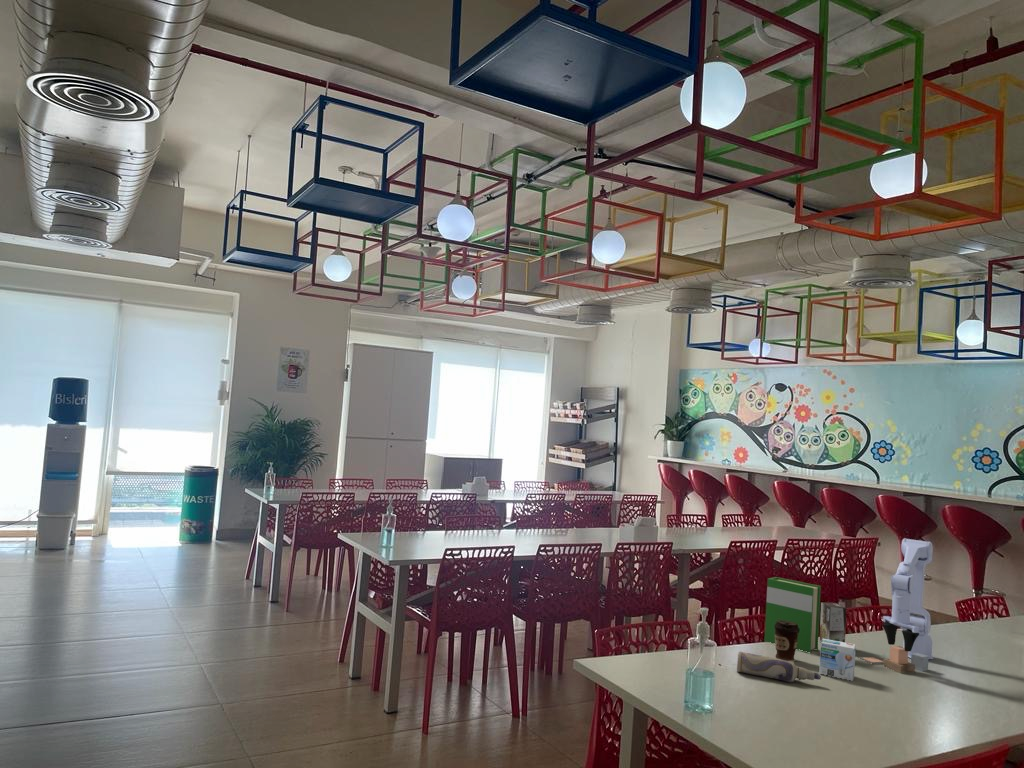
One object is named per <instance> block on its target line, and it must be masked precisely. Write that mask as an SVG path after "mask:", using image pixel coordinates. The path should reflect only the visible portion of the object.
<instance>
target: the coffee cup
mask: <svg viewBox="0 0 1024 768" xmlns="http://www.w3.org/2000/svg"><path fill="white" fill-rule="evenodd" d="M774 627H775V644H774V646H775V650H776V654H775V658H776V659H781V660H787V661H793V662H795V661H794V660H795V654H796V651H797V650H796V647H797V642H798V634H799V632H800V629H799V628H798V624H796V623H794V622H789V621H783V620H778V621H777V622H776V624H775V625H774Z"/></svg>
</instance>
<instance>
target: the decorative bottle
mask: <svg viewBox="0 0 1024 768" xmlns="http://www.w3.org/2000/svg"><path fill="white" fill-rule="evenodd" d="M736 672H737V673H743V674H748V675H753V676H758V677H764V678H769V679H773V678H774V680H779V681H783V682H786V683H793V682H794V683H795V682H797V681H801V680H804V681H805V680H810V681H814V680H822V679H821V678H822V675H821V674H819V673H818V672H815V671H814V670H809V669H807V668H804V667H802V666H801V667H800V666H799V667H798V666H797V665H796V664H795V661H793V662H792V661H787V660H781V659H778V658H776V657H770V656H765V655H759V654H753V653H749V652H745V651H744V652H743V651H738V654H737V663H736Z"/></svg>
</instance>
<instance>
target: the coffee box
mask: <svg viewBox="0 0 1024 768" xmlns="http://www.w3.org/2000/svg"><path fill="white" fill-rule="evenodd" d="M846 624H847V607H845V606H843V605H841V604H839V603H837V602H821V601H820V619H819V644H820V643H821V642H822V639H823V638H824V639H829V640H834V641H840V642H845V643H846V627H847V625H846Z"/></svg>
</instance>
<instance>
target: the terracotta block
mask: <svg viewBox="0 0 1024 768" xmlns="http://www.w3.org/2000/svg"><path fill="white" fill-rule="evenodd" d="M889 659H890V661H892V662H895V663H897V664H908V662H909V657H908V651H905V648H903V646H901V645H890V646H889Z"/></svg>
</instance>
